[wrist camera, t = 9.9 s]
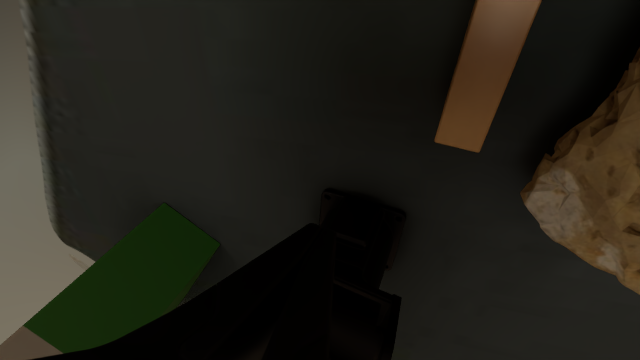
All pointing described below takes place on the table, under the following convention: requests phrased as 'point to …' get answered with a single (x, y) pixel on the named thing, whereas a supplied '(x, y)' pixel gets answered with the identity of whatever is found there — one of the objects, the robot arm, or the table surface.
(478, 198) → the table surface
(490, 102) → the back rail
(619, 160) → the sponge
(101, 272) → the hardback book
